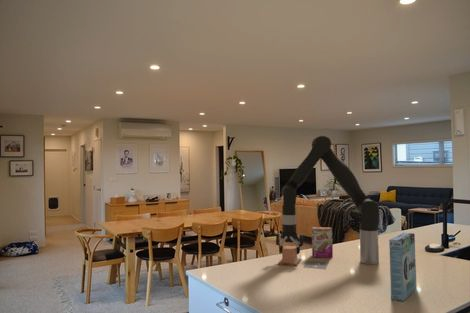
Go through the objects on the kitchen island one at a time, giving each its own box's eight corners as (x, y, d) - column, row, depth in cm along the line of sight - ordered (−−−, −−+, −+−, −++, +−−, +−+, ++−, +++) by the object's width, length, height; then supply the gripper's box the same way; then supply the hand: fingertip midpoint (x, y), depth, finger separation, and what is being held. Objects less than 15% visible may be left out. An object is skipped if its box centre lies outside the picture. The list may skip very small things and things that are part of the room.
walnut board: (301, 260, 198) (301, 258, 198) (296, 266, 186) (296, 264, 186) (283, 259, 202) (283, 257, 202) (277, 265, 189) (277, 263, 189)
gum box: (403, 301, 137) (402, 241, 138) (389, 298, 141) (388, 239, 141) (417, 288, 152) (415, 233, 153) (404, 285, 156) (402, 232, 156)
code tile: (328, 262, 194) (328, 262, 194) (325, 269, 181) (325, 269, 181) (307, 260, 197) (307, 260, 197) (303, 267, 184) (303, 267, 184)
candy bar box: (312, 257, 204) (312, 228, 204) (311, 255, 209) (311, 227, 209) (333, 258, 202) (332, 228, 203) (331, 255, 207) (331, 227, 208)
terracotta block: (297, 259, 197) (296, 246, 197) (293, 263, 189) (293, 250, 189) (286, 258, 199) (285, 245, 199) (282, 262, 191) (282, 249, 191)
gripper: (303, 222, 195) (304, 252, 195) (277, 221, 200) (278, 251, 200) (301, 224, 188) (301, 256, 188) (274, 223, 193) (275, 254, 193)
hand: (289, 253), depth 194 cm, fingers open, 8 cm apart
